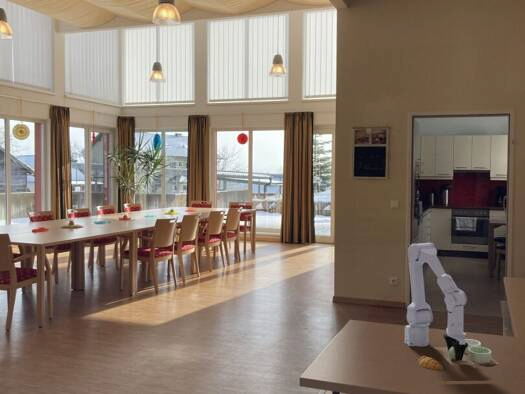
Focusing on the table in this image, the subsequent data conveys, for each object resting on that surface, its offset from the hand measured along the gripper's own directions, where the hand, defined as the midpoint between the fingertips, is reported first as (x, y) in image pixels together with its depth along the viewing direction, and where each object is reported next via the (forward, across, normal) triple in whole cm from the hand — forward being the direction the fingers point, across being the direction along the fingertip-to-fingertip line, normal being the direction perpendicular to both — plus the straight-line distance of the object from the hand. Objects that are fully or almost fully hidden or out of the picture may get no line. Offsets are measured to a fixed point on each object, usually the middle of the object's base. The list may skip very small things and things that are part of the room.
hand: (455, 356), depth 204 cm
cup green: (+1, 0, -10) cm, 10 cm away
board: (+2, +4, -6) cm, 7 cm away
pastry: (+2, -6, +12) cm, 13 cm away
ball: (+1, 0, 0) cm, 1 cm away
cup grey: (+1, +10, -10) cm, 13 cm away
